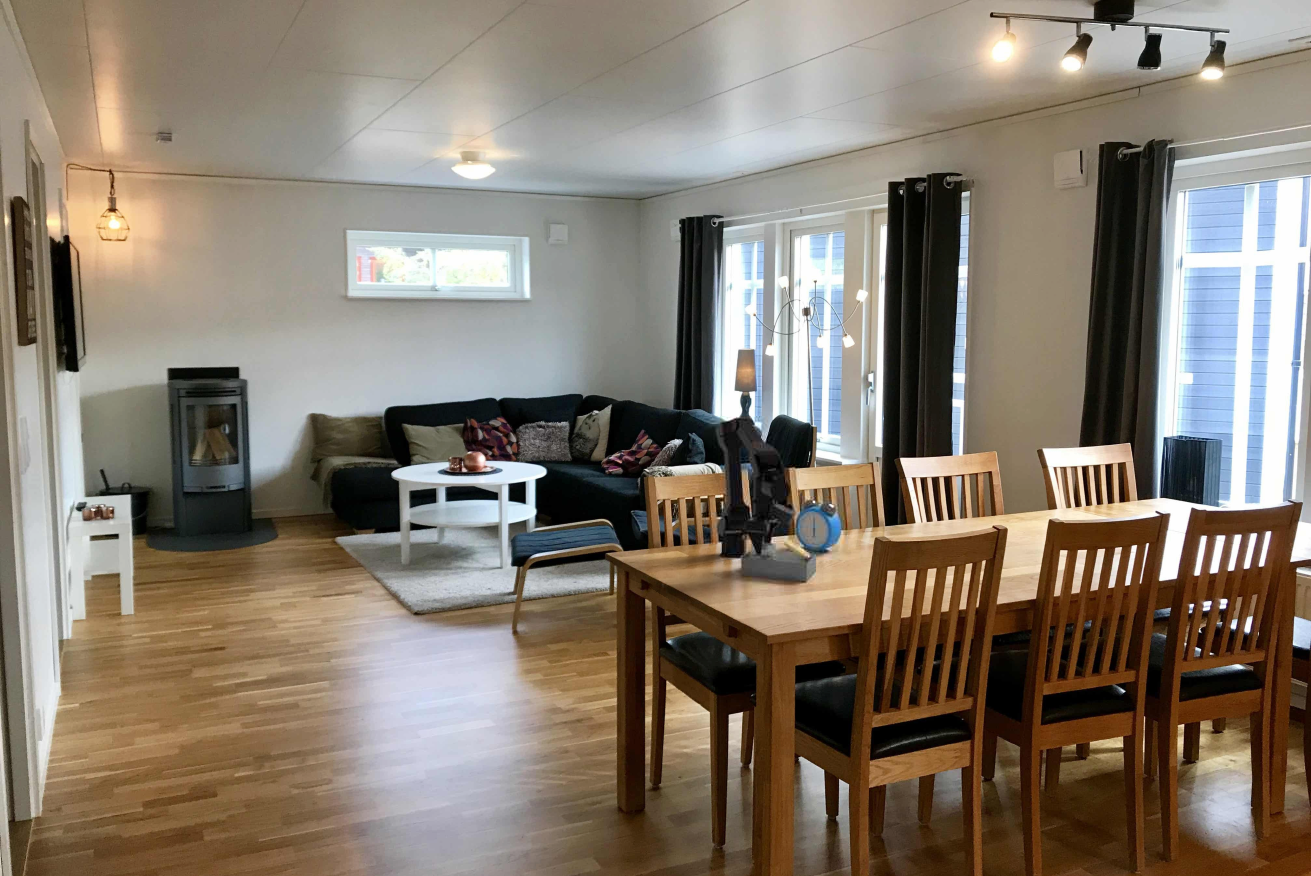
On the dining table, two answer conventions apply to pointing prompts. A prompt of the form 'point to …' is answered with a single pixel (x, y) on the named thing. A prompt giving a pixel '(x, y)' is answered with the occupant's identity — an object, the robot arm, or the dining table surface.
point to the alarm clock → (818, 526)
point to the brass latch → (797, 549)
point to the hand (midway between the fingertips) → (763, 550)
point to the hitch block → (779, 566)
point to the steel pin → (765, 550)
